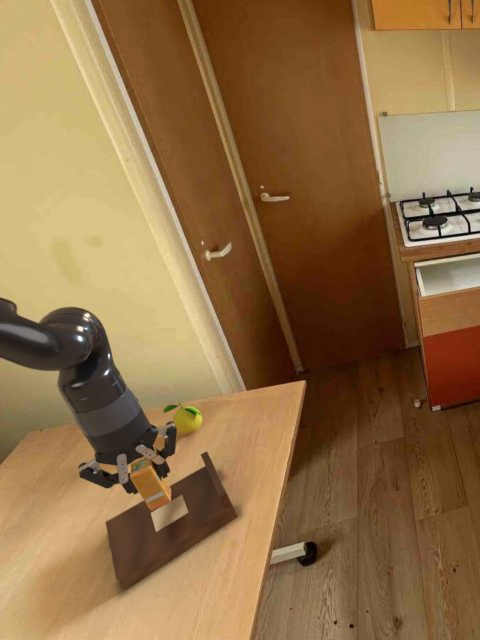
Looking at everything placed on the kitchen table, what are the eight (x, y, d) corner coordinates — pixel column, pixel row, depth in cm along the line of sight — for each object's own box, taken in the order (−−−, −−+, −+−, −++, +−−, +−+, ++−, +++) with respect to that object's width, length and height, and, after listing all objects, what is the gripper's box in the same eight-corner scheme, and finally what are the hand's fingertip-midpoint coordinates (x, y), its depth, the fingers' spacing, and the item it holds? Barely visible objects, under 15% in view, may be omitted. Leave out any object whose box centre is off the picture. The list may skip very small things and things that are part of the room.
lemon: (173, 432, 105) (158, 403, 100) (200, 417, 109) (186, 388, 105) (183, 446, 101) (168, 416, 97) (210, 430, 105) (197, 401, 101)
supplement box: (173, 501, 81) (150, 467, 76) (150, 511, 79) (126, 478, 74) (173, 487, 83) (151, 454, 78) (151, 498, 81) (127, 464, 77)
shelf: (125, 590, 74) (106, 566, 71) (114, 534, 83) (97, 510, 80) (237, 516, 86) (226, 493, 83) (217, 473, 95) (206, 450, 91)
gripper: (53, 456, 64) (103, 524, 72) (167, 404, 73) (200, 470, 81) (51, 428, 69) (98, 495, 76) (158, 383, 78) (190, 447, 85)
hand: (150, 482), depth 79 cm, fingers closed on supplement box, 3 cm apart
